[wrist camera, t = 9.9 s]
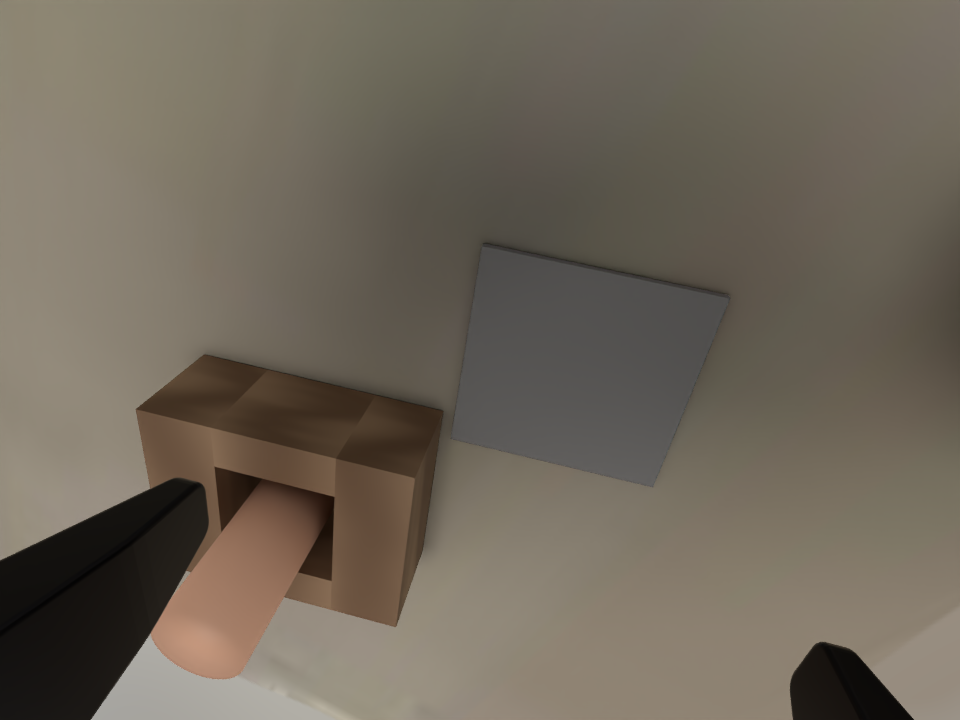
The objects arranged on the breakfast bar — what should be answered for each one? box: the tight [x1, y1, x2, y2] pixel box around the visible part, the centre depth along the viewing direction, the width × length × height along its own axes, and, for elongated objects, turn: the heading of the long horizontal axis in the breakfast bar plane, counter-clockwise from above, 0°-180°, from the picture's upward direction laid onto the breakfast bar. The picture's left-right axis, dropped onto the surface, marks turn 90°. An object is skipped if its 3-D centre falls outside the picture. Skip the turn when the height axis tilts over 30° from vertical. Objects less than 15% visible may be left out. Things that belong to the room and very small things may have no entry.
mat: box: [451, 243, 730, 487], centre depth 21 cm, size 8×8×1 cm
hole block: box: [136, 355, 443, 627], centre depth 23 cm, size 10×8×4 cm
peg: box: [151, 479, 335, 679], centre depth 21 cm, size 3×3×9 cm
